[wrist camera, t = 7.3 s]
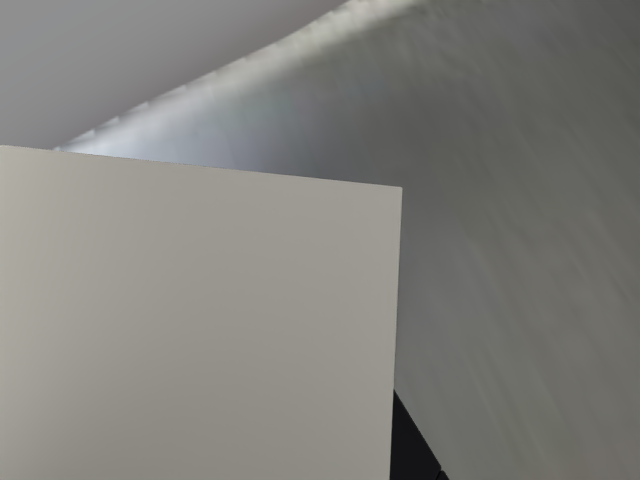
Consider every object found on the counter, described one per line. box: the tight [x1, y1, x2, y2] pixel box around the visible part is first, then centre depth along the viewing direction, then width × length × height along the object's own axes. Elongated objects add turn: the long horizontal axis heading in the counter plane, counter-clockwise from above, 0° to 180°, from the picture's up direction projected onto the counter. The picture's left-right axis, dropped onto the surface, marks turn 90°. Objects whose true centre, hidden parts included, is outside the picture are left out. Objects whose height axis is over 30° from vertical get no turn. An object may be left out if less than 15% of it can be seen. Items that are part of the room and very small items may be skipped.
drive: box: [0, 145, 402, 480], centre depth 9 cm, size 7×5×12 cm
